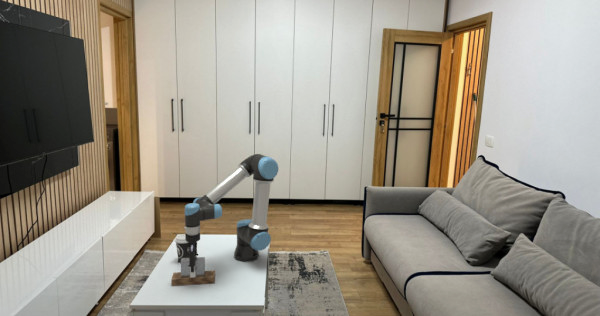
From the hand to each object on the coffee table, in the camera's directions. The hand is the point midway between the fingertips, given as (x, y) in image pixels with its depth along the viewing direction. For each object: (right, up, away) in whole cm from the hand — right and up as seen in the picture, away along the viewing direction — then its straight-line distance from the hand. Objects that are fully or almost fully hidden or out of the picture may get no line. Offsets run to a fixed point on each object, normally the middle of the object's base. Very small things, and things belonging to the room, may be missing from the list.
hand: (193, 272), depth 214 cm
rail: (0, -5, +1) cm, 5 cm away
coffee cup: (-12, 0, +25) cm, 28 cm away
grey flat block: (0, -4, +1) cm, 4 cm away
